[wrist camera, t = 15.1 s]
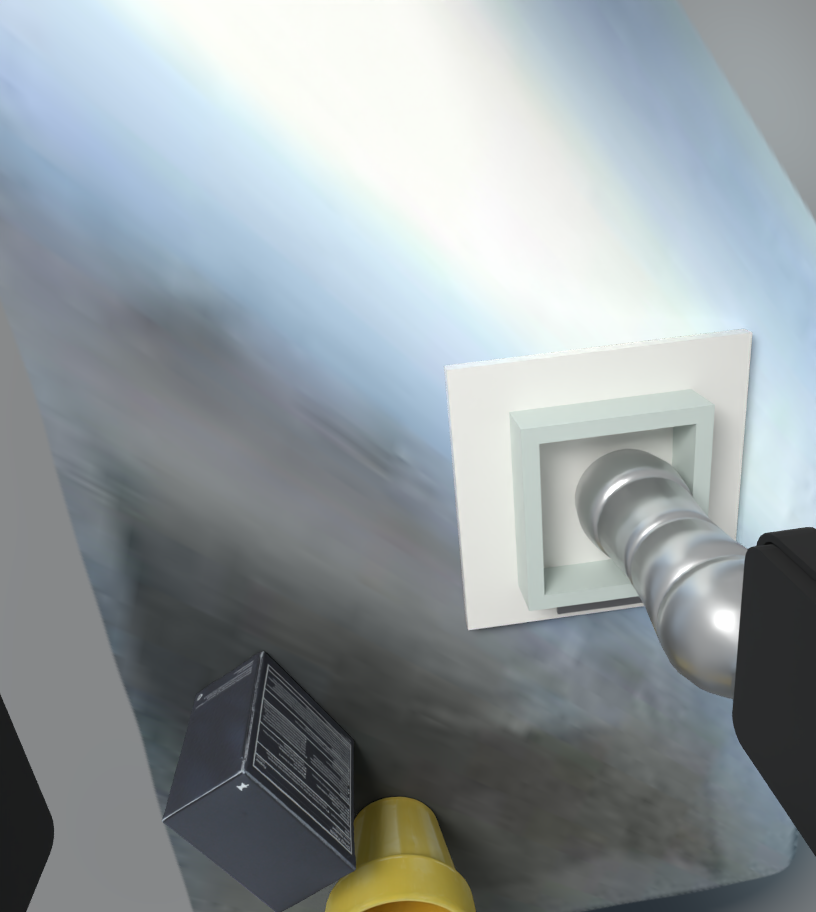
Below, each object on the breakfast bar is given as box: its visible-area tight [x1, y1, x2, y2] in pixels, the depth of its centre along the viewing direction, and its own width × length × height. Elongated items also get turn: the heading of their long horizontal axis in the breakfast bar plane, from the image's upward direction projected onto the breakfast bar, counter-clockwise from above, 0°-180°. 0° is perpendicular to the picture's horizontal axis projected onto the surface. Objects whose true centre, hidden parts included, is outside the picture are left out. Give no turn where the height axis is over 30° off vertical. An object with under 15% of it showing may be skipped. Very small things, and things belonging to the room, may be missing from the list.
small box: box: [162, 651, 356, 912], centre depth 47 cm, size 11×6×10 cm, turn 35°
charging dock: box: [444, 329, 752, 630], centre depth 45 cm, size 18×18×4 cm
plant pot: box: [325, 797, 476, 912], centre depth 52 cm, size 10×10×10 cm
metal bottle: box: [575, 449, 748, 699], centre depth 37 cm, size 6×7×20 cm
